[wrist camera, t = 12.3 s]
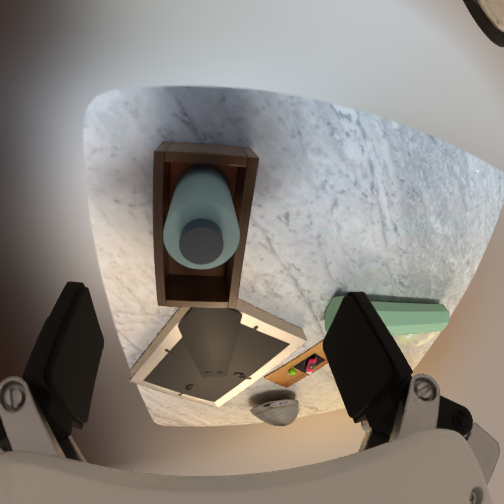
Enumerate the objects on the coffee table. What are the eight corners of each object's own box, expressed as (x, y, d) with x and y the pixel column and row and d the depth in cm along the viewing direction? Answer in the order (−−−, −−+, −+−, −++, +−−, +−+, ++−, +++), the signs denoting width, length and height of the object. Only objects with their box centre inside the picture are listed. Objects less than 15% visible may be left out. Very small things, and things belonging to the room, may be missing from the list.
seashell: (309, 398, 48) (316, 419, 44) (276, 414, 50) (281, 434, 46) (277, 383, 42) (284, 407, 38) (240, 401, 44) (244, 424, 40)
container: (459, 325, 35) (356, 332, 27) (435, 339, 39) (328, 349, 32) (449, 295, 38) (346, 286, 31) (427, 310, 43) (321, 307, 35)
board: (263, 376, 41) (265, 384, 39) (326, 337, 38) (329, 345, 36) (286, 386, 44) (288, 393, 42) (343, 351, 41) (347, 358, 39)
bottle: (178, 161, 21) (160, 206, 13) (230, 165, 22) (247, 210, 14) (176, 209, 23) (162, 278, 15) (224, 212, 24) (237, 280, 16)
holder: (162, 277, 28) (157, 306, 24) (163, 141, 21) (153, 151, 17) (231, 280, 29) (236, 308, 26) (249, 147, 22) (259, 157, 19)
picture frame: (202, 279, 29) (130, 369, 35) (202, 297, 26) (128, 385, 33) (302, 329, 35) (216, 397, 42) (308, 344, 33) (218, 411, 40)
